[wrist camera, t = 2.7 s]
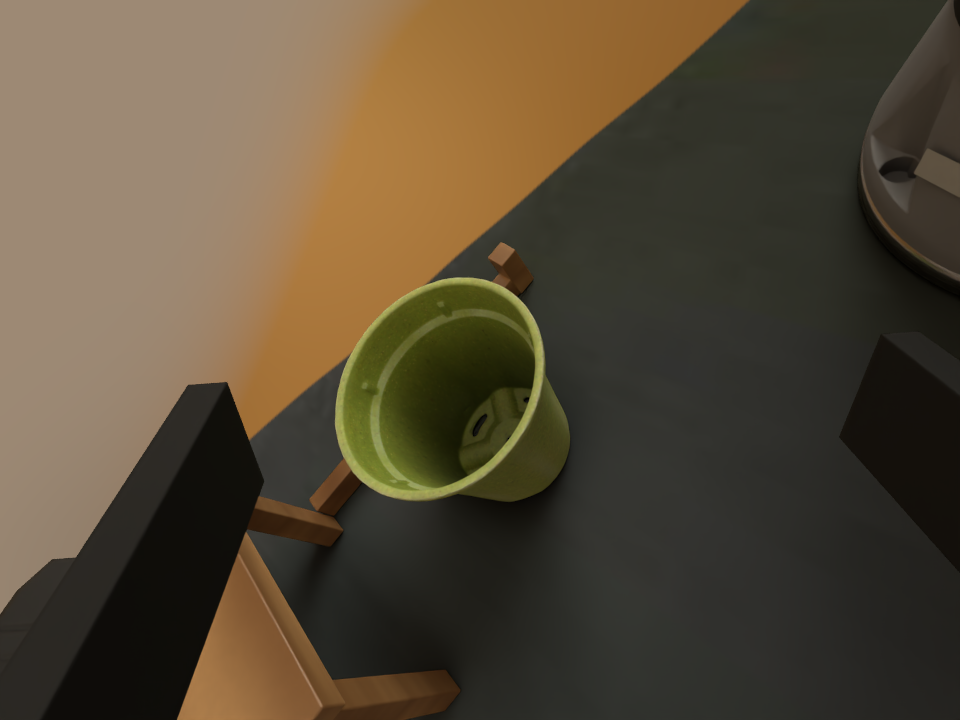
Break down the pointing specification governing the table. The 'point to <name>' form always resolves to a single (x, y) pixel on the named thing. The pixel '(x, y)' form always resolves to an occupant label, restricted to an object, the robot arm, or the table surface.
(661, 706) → the table surface
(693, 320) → the table surface
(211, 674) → the plant stand
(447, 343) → the plant pot
